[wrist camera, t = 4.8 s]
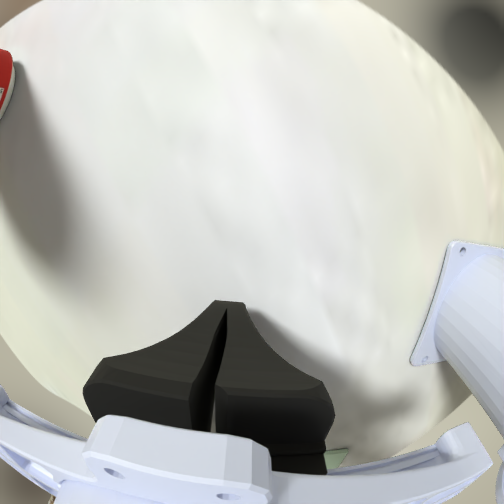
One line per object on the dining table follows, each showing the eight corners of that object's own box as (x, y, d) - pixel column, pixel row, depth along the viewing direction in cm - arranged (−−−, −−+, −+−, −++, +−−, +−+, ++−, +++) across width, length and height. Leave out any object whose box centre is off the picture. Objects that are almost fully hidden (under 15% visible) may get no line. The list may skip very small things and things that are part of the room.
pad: (347, 448, 17) (348, 452, 16) (328, 476, 19) (328, 479, 18) (276, 453, 17) (277, 457, 16) (267, 479, 19) (267, 483, 18)
